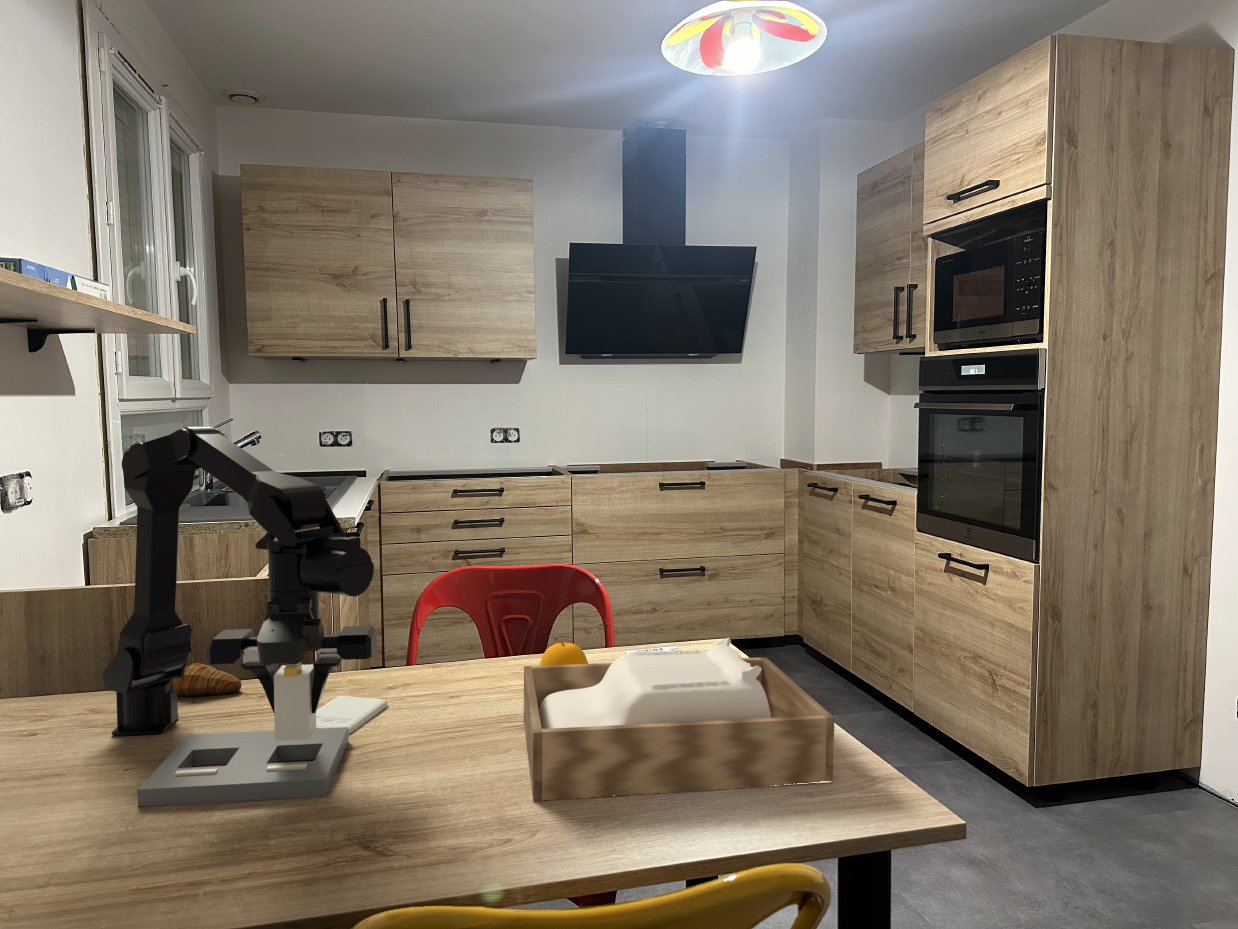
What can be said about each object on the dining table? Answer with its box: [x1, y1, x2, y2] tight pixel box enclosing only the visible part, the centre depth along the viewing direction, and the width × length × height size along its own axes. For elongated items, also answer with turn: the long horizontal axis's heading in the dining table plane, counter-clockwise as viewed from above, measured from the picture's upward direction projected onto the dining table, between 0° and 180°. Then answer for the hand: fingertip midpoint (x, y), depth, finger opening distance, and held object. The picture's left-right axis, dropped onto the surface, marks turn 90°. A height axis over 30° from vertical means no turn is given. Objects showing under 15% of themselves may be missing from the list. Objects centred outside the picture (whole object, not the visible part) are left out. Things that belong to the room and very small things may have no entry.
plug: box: [273, 662, 316, 741], centre depth 102 cm, size 4×5×9 cm
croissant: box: [173, 662, 242, 697], centre depth 130 cm, size 14×7×5 cm, turn 93°
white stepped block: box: [539, 636, 771, 729], centre depth 109 cm, size 19×30×13 cm, turn 99°
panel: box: [137, 727, 349, 807], centre depth 102 cm, size 20×16×2 cm
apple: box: [539, 642, 589, 666], centre depth 134 cm, size 8×8×8 cm
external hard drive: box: [316, 695, 388, 735], centre depth 120 cm, size 2×8×12 cm
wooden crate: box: [523, 657, 836, 802], centre depth 110 cm, size 36×25×8 cm
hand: (295, 713), depth 103 cm, fingers closed on plug, 4 cm apart
